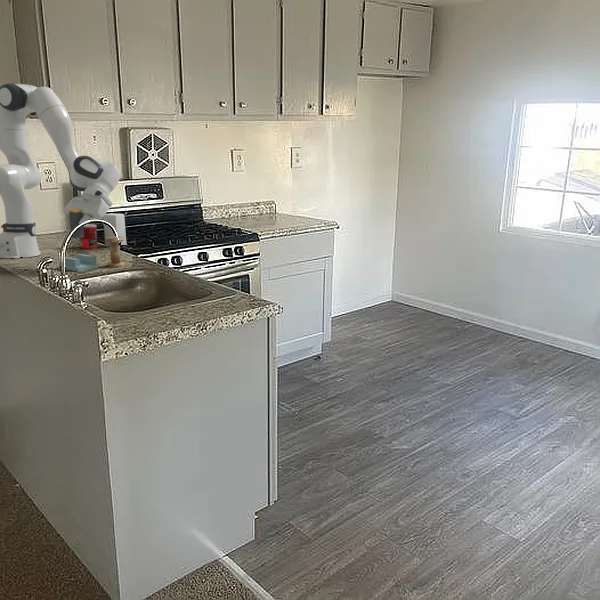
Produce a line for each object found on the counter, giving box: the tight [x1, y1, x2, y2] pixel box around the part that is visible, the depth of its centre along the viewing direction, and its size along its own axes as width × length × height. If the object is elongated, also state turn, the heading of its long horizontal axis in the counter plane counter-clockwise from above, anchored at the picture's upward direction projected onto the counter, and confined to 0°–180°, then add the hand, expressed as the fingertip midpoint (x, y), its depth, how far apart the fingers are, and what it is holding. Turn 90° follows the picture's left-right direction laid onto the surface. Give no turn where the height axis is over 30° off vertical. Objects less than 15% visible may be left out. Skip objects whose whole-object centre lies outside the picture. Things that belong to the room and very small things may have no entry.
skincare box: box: [102, 213, 127, 247], centre depth 296 cm, size 8×7×16 cm
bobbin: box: [104, 237, 126, 268], centre depth 249 cm, size 7×7×11 cm
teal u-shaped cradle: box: [57, 253, 100, 273], centre depth 244 cm, size 12×10×4 cm
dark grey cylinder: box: [68, 209, 84, 239], centre depth 240 cm, size 4×4×11 cm
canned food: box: [79, 223, 98, 250], centre depth 289 cm, size 8×8×11 cm
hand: (75, 223), depth 240 cm, fingers closed on dark grey cylinder, 3 cm apart
